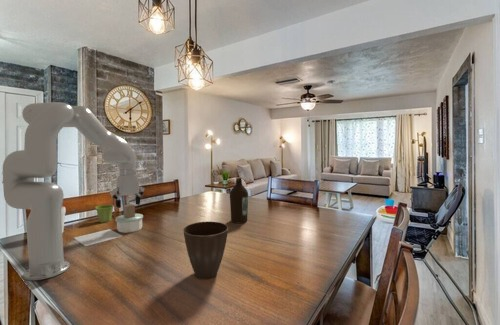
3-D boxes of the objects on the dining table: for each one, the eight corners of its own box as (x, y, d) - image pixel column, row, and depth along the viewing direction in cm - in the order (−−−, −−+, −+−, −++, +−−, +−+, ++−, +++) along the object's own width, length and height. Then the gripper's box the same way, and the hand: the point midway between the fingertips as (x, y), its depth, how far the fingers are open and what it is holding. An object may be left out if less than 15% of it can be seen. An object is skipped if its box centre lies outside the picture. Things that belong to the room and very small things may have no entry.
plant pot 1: (117, 219, 154) (117, 204, 154) (107, 223, 145) (107, 208, 144) (103, 218, 155) (102, 204, 155) (92, 223, 146) (91, 208, 145)
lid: (147, 218, 134) (147, 205, 134) (122, 224, 124) (121, 209, 124) (136, 214, 143) (135, 201, 142) (111, 219, 133) (110, 205, 132)
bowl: (145, 229, 135) (145, 218, 134) (124, 235, 126) (123, 223, 126) (135, 225, 142) (135, 214, 141) (114, 230, 133) (114, 219, 133)
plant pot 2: (229, 263, 96) (229, 221, 95) (227, 284, 81) (226, 235, 80) (189, 263, 96) (188, 221, 94) (179, 285, 81) (178, 236, 80)
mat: (123, 237, 124) (123, 236, 124) (85, 247, 111) (85, 246, 111) (109, 230, 134) (109, 229, 134) (73, 238, 122) (73, 237, 122)
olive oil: (226, 222, 146) (226, 178, 145) (235, 217, 156) (234, 176, 154) (243, 224, 142) (243, 179, 141) (251, 219, 152) (250, 177, 150)
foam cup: (53, 238, 122) (52, 211, 121) (38, 237, 124) (36, 210, 123) (71, 232, 132) (70, 207, 131) (56, 230, 133) (55, 206, 132)
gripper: (140, 171, 141) (141, 202, 142) (106, 173, 128) (107, 207, 129) (147, 172, 136) (148, 204, 137) (112, 174, 123) (113, 210, 124)
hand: (128, 205), depth 133 cm, fingers open, 9 cm apart
